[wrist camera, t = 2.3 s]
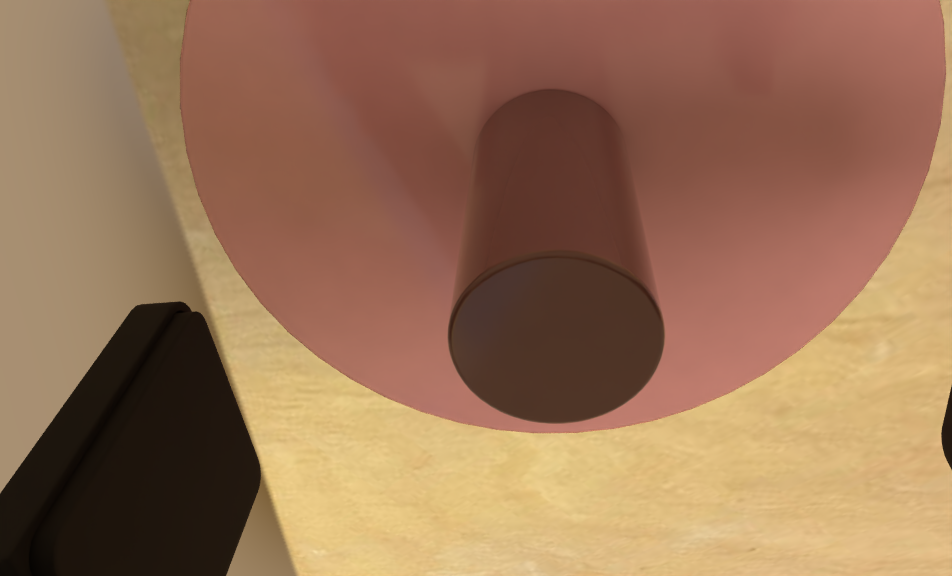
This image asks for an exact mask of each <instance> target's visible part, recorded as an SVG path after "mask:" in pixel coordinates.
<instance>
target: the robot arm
mask: <svg viewBox="0 0 952 576" xmlns="http://www.w3.org/2000/svg"><path fill="white" fill-rule="evenodd" d="M941 435H942V446H943V451H944V454H945V457H946V459H947V462H948V463H949V465H950V467H951V469H952V387H951V391H950V395H949V400H948V404H947V409H946V413H945V417H944V422H943V426H942V433H941ZM260 479H261V470H260V464H259V460H258V457H257V455H256V452H255V449H254V447H253V444H252V441H251V439H250V436H249V433H248V431H247V428H246V426H245V423H244V420H243V418H242V415H241V412H240V410H239V407H238V404H237V402H236V399H235V397H234V394H233V391H232V389H231V386H230V383H229V381H228V378H227V376H226V373H225V370H224V368H223V365H222V362H221V360H220V357H219V354H218V352H217V349H216V347H215V344H214V341H213V339H212V336H211V333H210V331H209V328H208V325H207V323H206V321H205V319H204V317H203V315H202V314H201V313H199V312H192V311H191V309H190V308H189V307H188V306H187V305H186V304H185V303H183V302H168V303H154V304H141V305H137V306H136V307H135V308H134V309H132V310H131V312H130V313H129V314H128V316H127V317H126V319H125V320H124V322H123V323H122V324H121V326H120V327H119V328H118V330H117V331H116V333H115V334H114V335H113V337H112V338H111V340H110V341H109V343H108V344H107V345H106V347H105V348H104V349H103V351H102V352H101V354H100V355H99V356H98V358H97V359H96V361H95V362H94V363H93V365H92V366H91V367H90V369H89V370H88V372H87V373H86V374H85V376H84V377H83V379H82V380H81V381H80V383H79V384H78V386H77V387H76V389H75V390H74V391H73V393H72V394H71V395H70V397H69V398H68V400H67V401H66V402H65V404H64V405H63V407H62V408H61V409H60V411H59V412H58V414H57V415H56V416H55V418H54V419H53V421H52V422H51V423H50V425H49V426H48V428H47V429H46V431H45V432H44V433H43V435H42V436H41V437H40V439H39V440H38V441H37V443H36V444H35V446H34V447H33V448H32V450H31V451H30V453H29V454H28V456H27V457H26V458H25V460H24V461H23V463H22V464H21V465H20V467H19V468H18V470H17V471H16V472H15V474H14V475H13V476H12V478H11V479H10V481H9V482H8V483H7V485H6V486H5V488H4V489H3V490H2V492H1V493H0V576H226V574H227V572H228V569H229V566H230V564H231V561H232V558H233V555H234V553H235V550H236V548H237V545H238V543H239V540H240V537H241V535H242V532H243V529H244V527H245V524H246V521H247V519H248V516H249V513H250V510H251V508H252V505H253V503H254V500H255V498H256V495H257V493H258V490H259V486H260Z"/></svg>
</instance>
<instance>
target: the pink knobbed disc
mask: <svg viewBox="0 0 952 576" xmlns="http://www.w3.org/2000/svg"><path fill="white" fill-rule="evenodd" d="M945 78H946V60H945V35H944V20H943V15H942V10H941V5H940V0H190V2H189V5H188V9H187V13H186V20H185V27H184V35H183V42H182V49H181V57H180V109H181V116H182V123H183V130H184V137H185V144H186V151H187V156H188V159H189V163H190V166H191V170H192V173H193V177H194V181H195V184H196V188H197V191H198V195H199V197H200V200H201V202H202V204H203V207H204V209H205V211H206V214H207V216H208V218H209V221H210V223H211V226H212V228H213V230H214V233H215V235H216V236H217V238H218V240H219V242H220V243H221V245H222V247H223V249H224V250H225V252H226V254H227V255H228V257H229V259H230V261H231V262H232V264H233V266H234V268H235V269H236V271H237V272H238V273H239V275H240V276H241V277H242V279H243V280H244V281H245V283H246V284H247V285H248V287H249V288H250V289H251V291H252V292H253V293H254V295H255V296H256V297H257V299H258V300H259V301H260V303H261V304H262V305H263V306H264V307H265V308H266V309H267V310H268V311H269V312H270V313H271V314H272V315H273V316H274V317H275V318H276V320H277V321H278V322H279V323H280V324H281V325H282V326H283V327H284V328H285V329H286V330H287V331H288V332H289V333H290V334H291V335H293V336H294V337H295V338H296V339H297V340H298V341H300V342H301V343H302V344H303V345H304V346H306V347H307V348H308V349H309V350H310V351H312V352H313V353H314V354H315V355H316V356H318V357H319V358H320V359H322V360H323V361H325V362H326V363H328V364H329V365H331V366H332V367H334V368H335V369H337V370H338V371H340V372H341V373H343V374H344V375H346V376H347V377H349V378H350V379H352V380H354V381H356V382H357V383H359V384H361V385H363V386H365V387H367V388H369V389H371V390H373V391H375V392H376V393H378V394H380V395H382V396H384V397H386V398H388V399H391V400H393V401H396V402H398V403H401V404H403V405H406V406H408V407H411V408H413V409H416V410H418V411H421V412H424V413H427V414H431V415H434V416H438V417H441V418H444V419H448V420H451V421H455V422H458V423H463V424H468V425H474V426H479V427H485V428H490V429H495V430H505V431H516V432H527V433H579V432H588V431H598V430H607V429H615V428H620V427H625V426H630V425H635V424H640V423H645V422H650V421H654V420H657V419H661V418H664V417H667V416H670V415H674V414H677V413H680V412H683V411H687V410H690V409H693V408H695V407H697V406H700V405H702V404H705V403H707V402H709V401H712V400H714V399H717V398H719V397H721V396H724V395H726V394H728V393H730V392H732V391H734V390H736V389H738V388H740V387H741V386H743V385H745V384H747V383H749V382H751V381H752V380H754V379H756V378H758V377H760V376H762V375H764V374H765V373H767V372H768V371H770V370H771V369H773V368H774V367H776V366H777V365H778V364H780V363H781V362H783V361H784V360H786V359H787V358H789V357H790V356H792V355H793V354H794V353H796V352H797V351H799V350H800V349H801V348H803V347H804V346H805V345H806V344H807V343H808V342H810V341H811V340H812V339H813V338H814V337H815V336H817V335H818V334H819V333H820V332H821V331H822V330H824V329H825V328H826V327H827V326H828V325H829V324H831V323H832V322H833V321H834V320H835V319H836V318H837V316H838V315H839V314H840V313H841V312H842V311H843V310H844V309H845V308H846V307H847V306H848V305H849V304H850V303H851V301H852V300H853V299H854V298H855V297H856V296H857V295H858V294H859V293H860V292H861V291H862V290H863V288H864V287H865V286H866V284H867V283H868V281H869V280H870V279H871V277H872V276H873V275H874V273H875V272H876V271H877V269H878V268H879V266H880V265H881V264H882V262H883V261H884V260H885V258H886V257H887V256H888V254H889V253H890V251H891V249H892V247H893V245H894V244H895V242H896V240H897V238H898V237H899V235H900V233H901V231H902V229H903V228H904V226H905V224H906V222H907V220H908V219H909V217H910V215H911V213H912V211H913V208H914V206H915V203H916V201H917V198H918V196H919V193H920V191H921V188H922V186H923V183H924V181H925V178H926V176H927V173H928V171H929V167H930V164H931V160H932V156H933V152H934V148H935V144H936V140H937V136H938V132H939V128H940V124H941V115H942V106H943V97H944V88H945Z"/></svg>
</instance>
